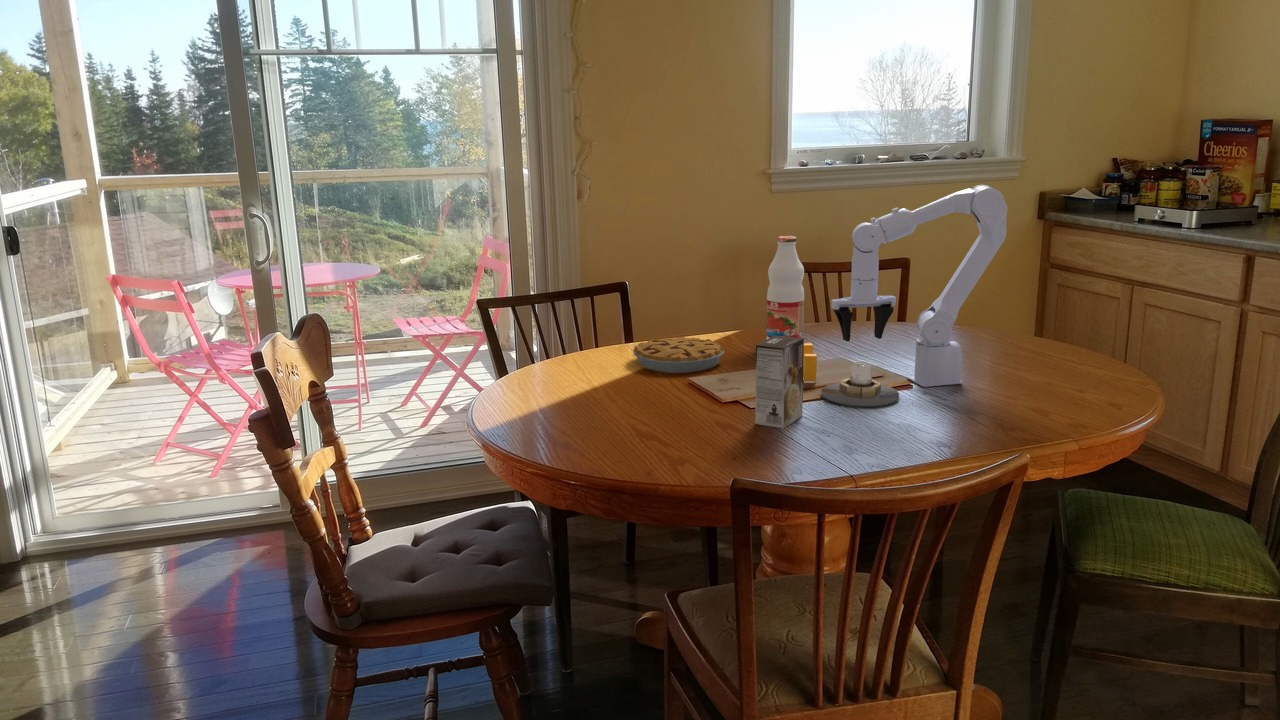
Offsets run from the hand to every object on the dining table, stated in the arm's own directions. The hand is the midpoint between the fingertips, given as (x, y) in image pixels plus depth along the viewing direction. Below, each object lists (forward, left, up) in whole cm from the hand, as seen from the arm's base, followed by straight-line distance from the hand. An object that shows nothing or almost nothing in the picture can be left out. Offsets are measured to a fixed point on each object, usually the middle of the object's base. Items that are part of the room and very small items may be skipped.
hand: (862, 339), depth 213 cm
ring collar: (+6, +12, -9) cm, 16 cm away
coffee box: (+28, +22, -10) cm, 37 cm away
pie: (+35, -27, -10) cm, 45 cm away
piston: (+6, +12, -8) cm, 16 cm away
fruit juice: (+4, -36, -10) cm, 37 cm away
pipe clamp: (+11, -7, -10) cm, 16 cm away
